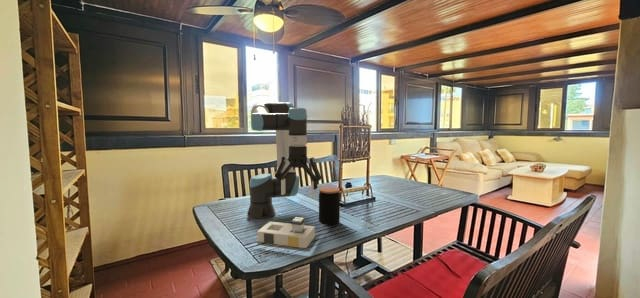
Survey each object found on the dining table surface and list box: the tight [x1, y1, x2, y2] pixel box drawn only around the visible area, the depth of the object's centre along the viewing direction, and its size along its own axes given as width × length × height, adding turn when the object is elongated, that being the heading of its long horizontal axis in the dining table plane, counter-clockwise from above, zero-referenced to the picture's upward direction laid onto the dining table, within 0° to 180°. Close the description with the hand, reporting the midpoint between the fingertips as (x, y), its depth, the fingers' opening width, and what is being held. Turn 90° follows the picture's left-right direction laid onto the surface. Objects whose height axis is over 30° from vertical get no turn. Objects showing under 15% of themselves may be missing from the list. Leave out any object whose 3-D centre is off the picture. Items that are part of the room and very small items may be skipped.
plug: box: [291, 216, 305, 234], centre depth 118 cm, size 4×4×10 cm
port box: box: [256, 221, 316, 253], centre depth 120 cm, size 22×12×6 cm, turn 73°
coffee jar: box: [318, 186, 341, 227], centre depth 142 cm, size 11×11×18 cm
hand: (298, 195), depth 117 cm, fingers open, 13 cm apart
